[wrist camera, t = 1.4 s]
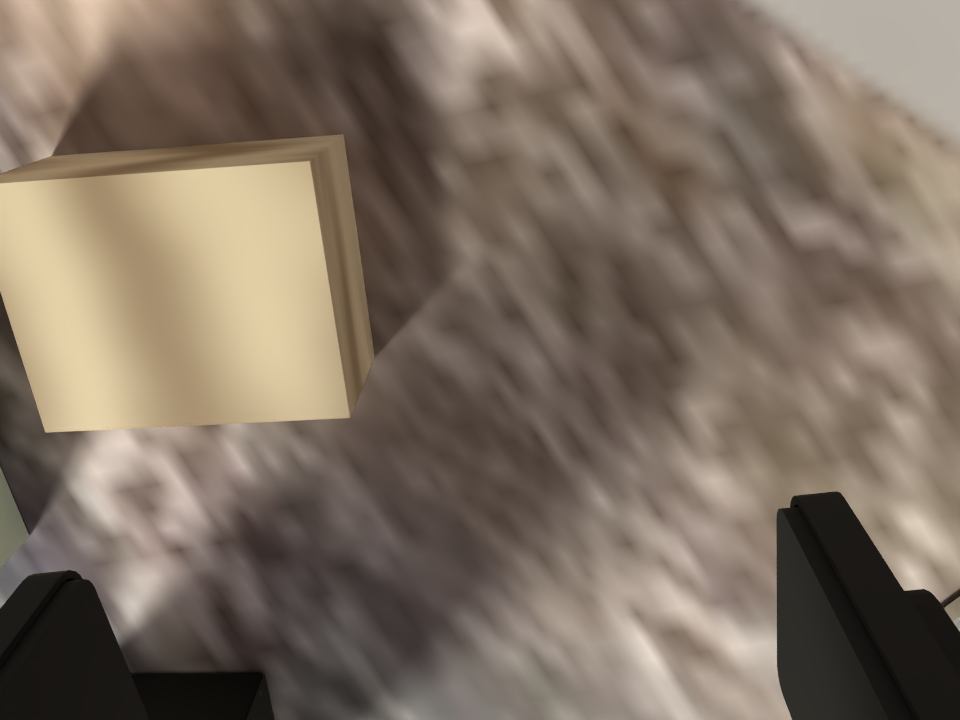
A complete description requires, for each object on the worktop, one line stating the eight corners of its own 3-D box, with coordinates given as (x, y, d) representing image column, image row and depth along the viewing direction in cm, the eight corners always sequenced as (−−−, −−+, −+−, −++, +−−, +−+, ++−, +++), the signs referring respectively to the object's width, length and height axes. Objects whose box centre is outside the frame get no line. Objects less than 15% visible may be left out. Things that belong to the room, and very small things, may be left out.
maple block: (344, 133, 28) (309, 160, 23) (375, 355, 31) (350, 417, 27) (55, 154, 29) (-34, 185, 24) (114, 369, 32) (45, 432, 27)
